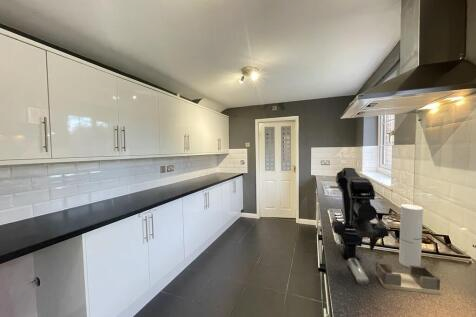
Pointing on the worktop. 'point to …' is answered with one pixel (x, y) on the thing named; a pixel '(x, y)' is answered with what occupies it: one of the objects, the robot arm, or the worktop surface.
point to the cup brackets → (416, 272)
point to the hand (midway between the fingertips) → (358, 249)
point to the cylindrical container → (410, 235)
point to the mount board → (408, 284)
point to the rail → (358, 272)
